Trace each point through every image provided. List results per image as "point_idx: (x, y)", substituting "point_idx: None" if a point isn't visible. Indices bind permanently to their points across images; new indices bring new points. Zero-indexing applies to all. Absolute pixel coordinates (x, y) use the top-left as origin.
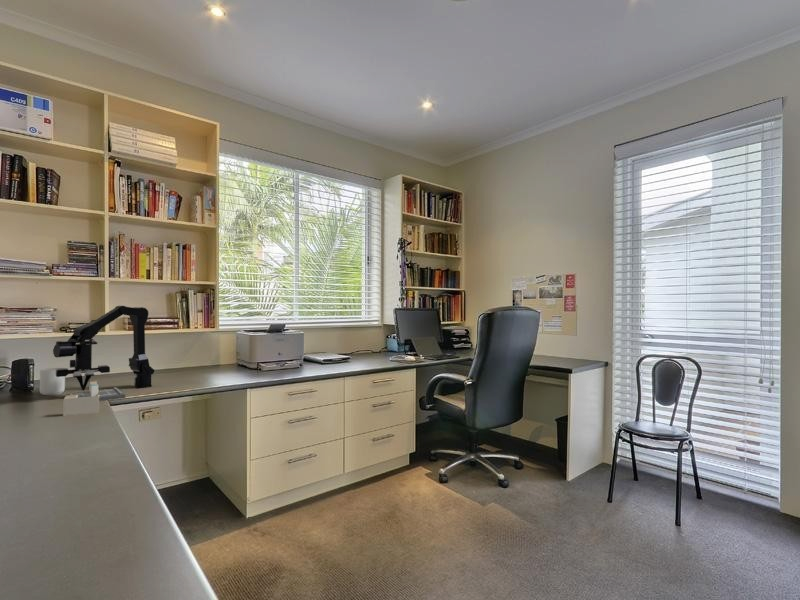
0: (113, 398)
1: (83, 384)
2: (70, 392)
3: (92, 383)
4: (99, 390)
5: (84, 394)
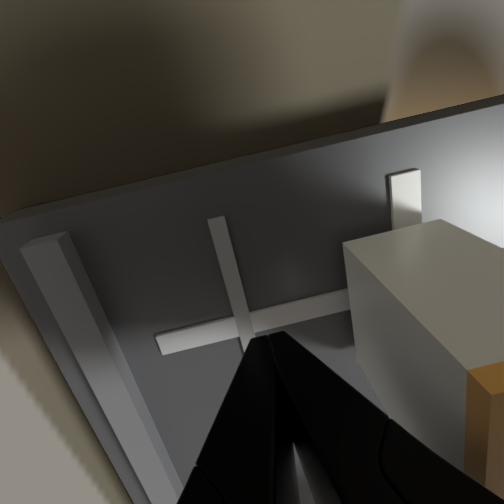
0: None
1: (299, 437)
2: (63, 293)
3: None
4: (498, 154)
5: None
